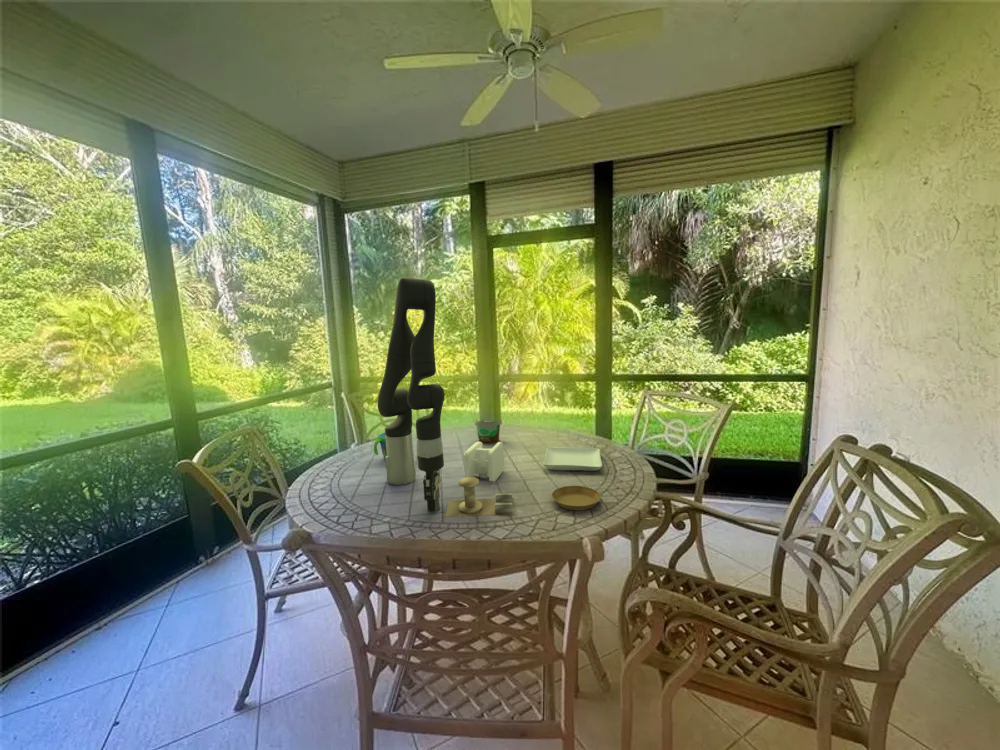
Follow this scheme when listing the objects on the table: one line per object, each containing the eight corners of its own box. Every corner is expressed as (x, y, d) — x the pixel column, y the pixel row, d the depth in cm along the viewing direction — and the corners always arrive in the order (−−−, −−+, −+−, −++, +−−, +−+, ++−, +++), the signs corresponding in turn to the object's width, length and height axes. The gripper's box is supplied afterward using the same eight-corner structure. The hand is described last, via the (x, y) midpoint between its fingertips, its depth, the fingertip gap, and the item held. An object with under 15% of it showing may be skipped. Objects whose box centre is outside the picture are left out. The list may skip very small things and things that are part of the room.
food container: (473, 444, 196) (471, 422, 195) (475, 440, 202) (474, 419, 201) (499, 444, 194) (498, 422, 193) (502, 440, 200) (501, 419, 199)
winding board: (445, 520, 125) (444, 508, 125) (450, 503, 136) (449, 492, 135) (514, 518, 125) (514, 506, 124) (513, 501, 136) (513, 490, 135)
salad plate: (599, 455, 175) (599, 447, 175) (602, 475, 154) (602, 465, 154) (546, 454, 179) (546, 446, 178) (542, 473, 158) (542, 464, 158)
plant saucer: (567, 489, 143) (567, 481, 143) (609, 500, 134) (609, 492, 134) (542, 506, 132) (542, 497, 132) (586, 519, 123) (586, 510, 122)
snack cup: (380, 465, 173) (378, 441, 172) (370, 459, 181) (367, 435, 180) (415, 456, 183) (413, 432, 181) (404, 450, 191) (402, 428, 190)
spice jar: (425, 516, 128) (423, 487, 127) (428, 510, 132) (426, 482, 131) (440, 516, 128) (438, 487, 127) (442, 509, 132) (440, 481, 131)
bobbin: (457, 513, 126) (455, 486, 125) (460, 503, 133) (458, 477, 132) (481, 513, 126) (480, 485, 125) (482, 502, 133) (481, 476, 132)
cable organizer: (493, 486, 148) (491, 453, 146) (464, 484, 151) (462, 452, 149) (505, 470, 162) (503, 440, 160) (478, 468, 165) (476, 439, 163)
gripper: (422, 445, 134) (425, 495, 137) (412, 460, 120) (416, 516, 123) (446, 444, 134) (449, 494, 137) (439, 459, 120) (443, 515, 123)
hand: (434, 504), depth 130 cm, fingers open, 7 cm apart
